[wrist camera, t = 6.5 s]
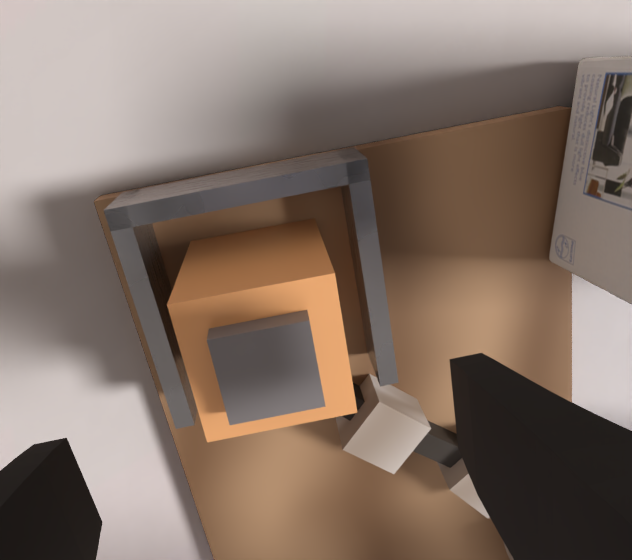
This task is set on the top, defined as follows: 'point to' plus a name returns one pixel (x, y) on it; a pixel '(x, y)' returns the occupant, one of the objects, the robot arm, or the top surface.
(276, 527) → the board
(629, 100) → the light bulb box
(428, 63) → the top surface
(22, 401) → the top surface
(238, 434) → the plug
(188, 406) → the frame
